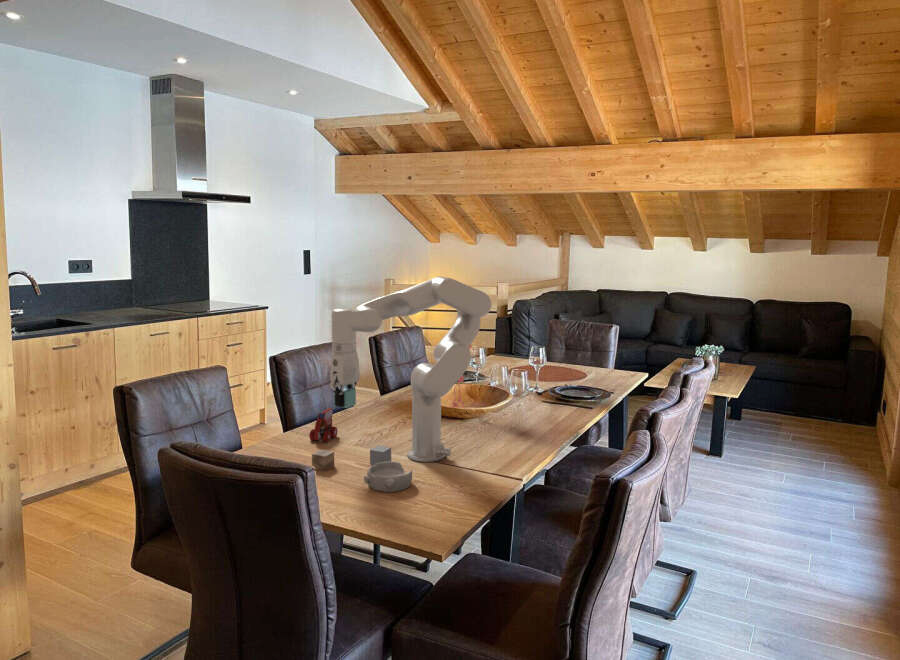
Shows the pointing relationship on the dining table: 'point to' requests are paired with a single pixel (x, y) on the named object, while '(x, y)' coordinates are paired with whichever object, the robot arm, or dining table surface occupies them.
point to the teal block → (348, 397)
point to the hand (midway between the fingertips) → (344, 403)
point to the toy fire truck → (324, 427)
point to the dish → (388, 477)
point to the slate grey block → (380, 454)
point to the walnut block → (323, 460)
